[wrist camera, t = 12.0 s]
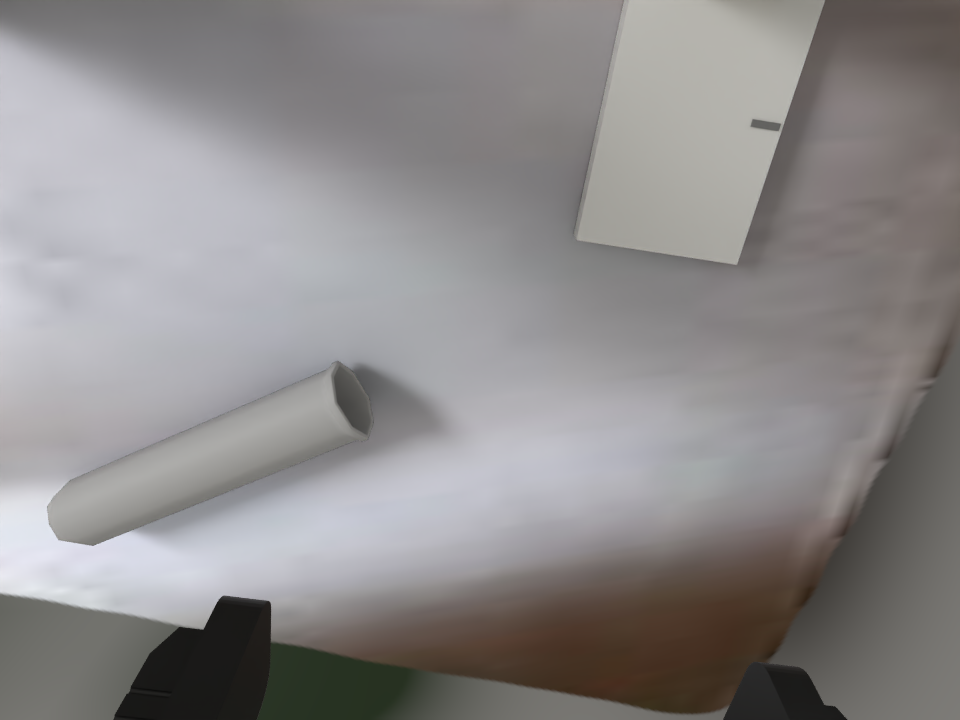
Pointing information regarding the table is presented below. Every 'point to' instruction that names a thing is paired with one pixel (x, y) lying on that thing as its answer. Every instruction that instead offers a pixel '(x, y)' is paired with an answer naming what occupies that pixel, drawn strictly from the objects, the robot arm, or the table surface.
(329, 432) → the tube
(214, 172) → the table surface
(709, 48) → the base
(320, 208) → the table surface
